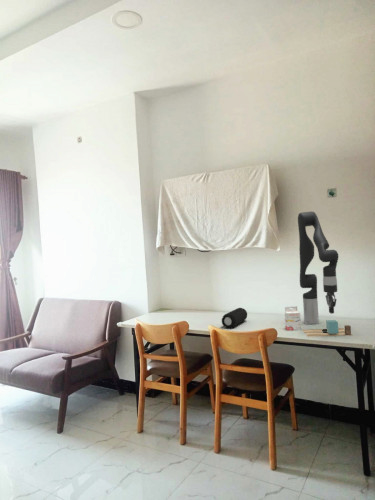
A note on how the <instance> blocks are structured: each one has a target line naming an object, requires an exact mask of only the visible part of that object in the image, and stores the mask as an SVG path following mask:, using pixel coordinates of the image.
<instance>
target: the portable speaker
mask: <svg viewBox="0 0 375 500" xmlns="http://www.w3.org/2000/svg"><path fill="white" fill-rule="evenodd" d="M247 317H248V311H247V310H246V309H245V308H243V307H237V308H235V309H234V310H233V309H232V310H231V311H229V312H227V313H225V314H224V315H223V316H222V318H221V324H222V326H223V327H224V328H227V329H232V328H234V327H235V326H237V325H238V324H240V323H243V322H244V321H246V320H247Z"/></svg>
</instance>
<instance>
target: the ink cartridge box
mask: <svg viewBox="0 0 375 500" xmlns="http://www.w3.org/2000/svg"><path fill="white" fill-rule="evenodd" d="M284 325H285V326H284V328H285V330H286V331H289V332H290V331H302V328H301V326H302V325H301V312H300V311H298V305H296V306H294V305H292V306H285V307H284Z"/></svg>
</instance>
